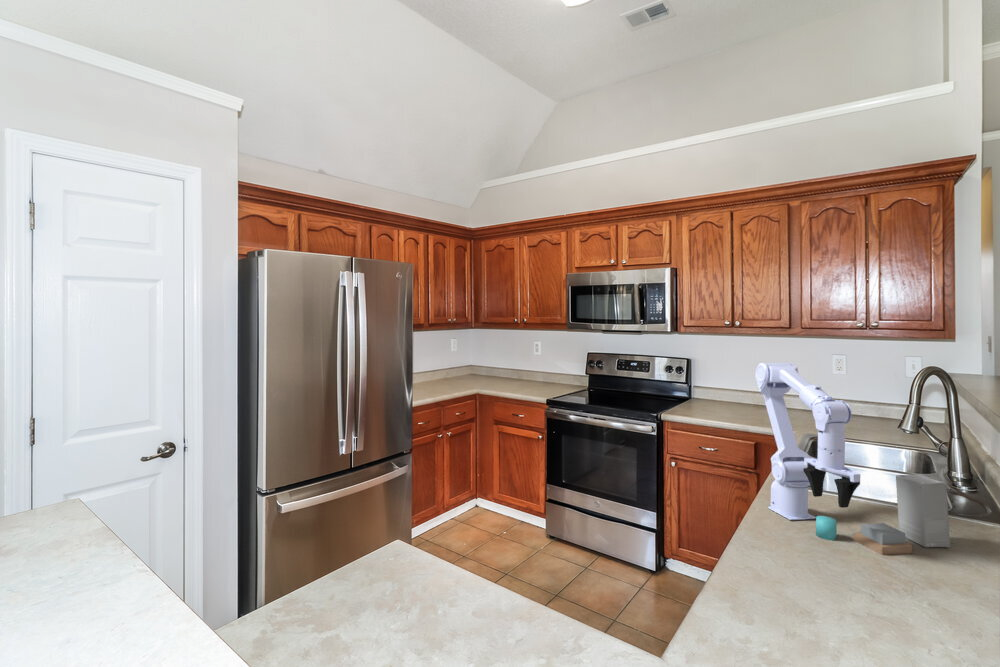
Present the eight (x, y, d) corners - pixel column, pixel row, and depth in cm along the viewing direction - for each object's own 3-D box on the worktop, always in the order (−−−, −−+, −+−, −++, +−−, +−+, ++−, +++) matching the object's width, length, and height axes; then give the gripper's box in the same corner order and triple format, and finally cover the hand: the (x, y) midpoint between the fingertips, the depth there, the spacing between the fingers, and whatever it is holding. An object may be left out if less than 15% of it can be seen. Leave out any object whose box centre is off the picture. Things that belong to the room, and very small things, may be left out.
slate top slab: (861, 533, 124) (861, 524, 123) (882, 532, 124) (883, 522, 124) (882, 544, 118) (882, 534, 118) (905, 543, 118) (905, 533, 118)
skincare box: (950, 548, 120) (952, 483, 119) (920, 548, 120) (921, 483, 119) (921, 533, 128) (922, 473, 128) (893, 533, 128) (894, 472, 128)
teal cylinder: (811, 533, 129) (812, 516, 128) (826, 532, 129) (827, 515, 129) (825, 540, 124) (825, 523, 124) (840, 539, 125) (841, 521, 125)
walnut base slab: (853, 542, 125) (853, 532, 124) (881, 540, 126) (881, 530, 126) (882, 557, 117) (882, 547, 117) (911, 554, 118) (911, 544, 118)
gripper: (794, 442, 131) (794, 492, 132) (843, 457, 117) (842, 513, 118) (816, 440, 133) (816, 490, 133) (867, 455, 119) (866, 511, 119)
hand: (830, 501), depth 126 cm, fingers open, 7 cm apart
